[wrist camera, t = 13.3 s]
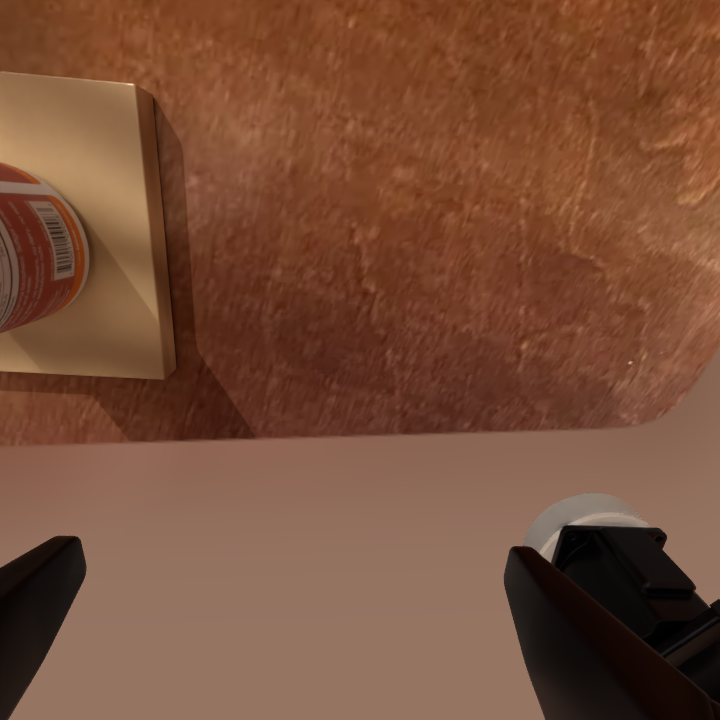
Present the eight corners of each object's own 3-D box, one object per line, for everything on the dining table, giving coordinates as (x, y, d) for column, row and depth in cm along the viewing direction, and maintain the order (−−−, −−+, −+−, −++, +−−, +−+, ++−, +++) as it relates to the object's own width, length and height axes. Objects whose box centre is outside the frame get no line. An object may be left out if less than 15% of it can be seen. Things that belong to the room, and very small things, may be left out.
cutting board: (177, 368, 20) (164, 380, 19) (-52, 356, 20) (-82, 367, 18) (153, 94, 16) (134, 83, 15) (-136, 67, 16) (-183, 53, 14)
